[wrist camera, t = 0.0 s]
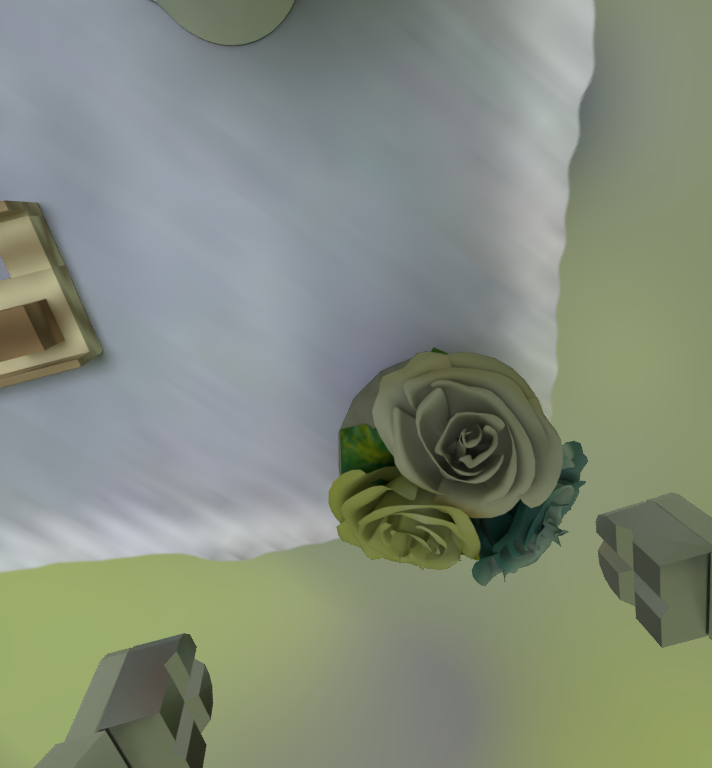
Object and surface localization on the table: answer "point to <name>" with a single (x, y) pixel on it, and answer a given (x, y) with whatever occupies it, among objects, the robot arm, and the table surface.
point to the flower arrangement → (453, 467)
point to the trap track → (41, 293)
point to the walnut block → (27, 330)
